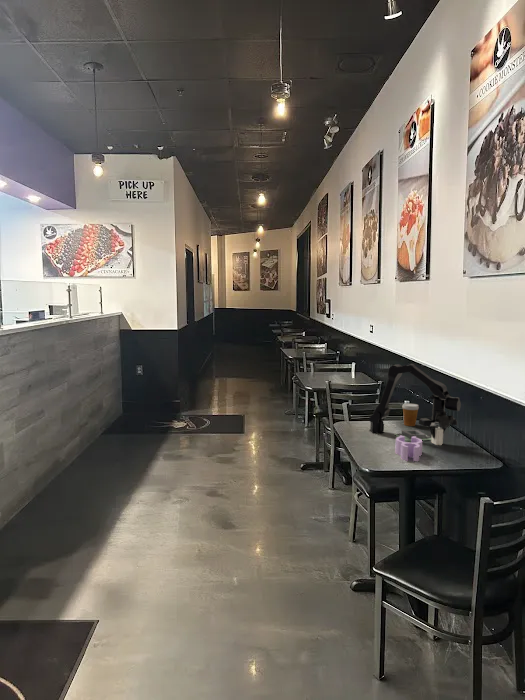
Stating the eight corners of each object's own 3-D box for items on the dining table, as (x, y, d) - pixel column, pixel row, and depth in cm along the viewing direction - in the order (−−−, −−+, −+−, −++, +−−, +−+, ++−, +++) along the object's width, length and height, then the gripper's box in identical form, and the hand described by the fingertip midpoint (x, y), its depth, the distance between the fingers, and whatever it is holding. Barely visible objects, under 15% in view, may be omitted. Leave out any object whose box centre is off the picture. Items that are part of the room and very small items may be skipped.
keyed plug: (437, 445, 275) (437, 426, 274) (431, 442, 281) (432, 424, 280) (443, 444, 276) (444, 426, 275) (437, 441, 282) (438, 423, 281)
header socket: (410, 439, 283) (410, 435, 283) (401, 434, 293) (401, 430, 293) (425, 438, 285) (425, 434, 285) (416, 433, 295) (416, 429, 295)
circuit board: (404, 441, 282) (404, 438, 282) (394, 435, 293) (394, 432, 293) (432, 440, 285) (432, 437, 285) (421, 434, 297) (421, 431, 297)
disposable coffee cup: (403, 422, 323) (404, 402, 322) (419, 424, 319) (420, 404, 318) (399, 425, 315) (400, 405, 313) (416, 427, 310) (417, 407, 309)
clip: (424, 462, 247) (425, 448, 247) (396, 460, 250) (397, 446, 249) (420, 450, 267) (420, 436, 266) (394, 448, 269) (394, 435, 268)
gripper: (429, 412, 267) (428, 443, 269) (464, 411, 271) (462, 441, 273) (419, 407, 278) (417, 437, 280) (451, 406, 282) (450, 435, 284)
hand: (437, 437), depth 279 cm, fingers closed on keyed plug, 4 cm apart
